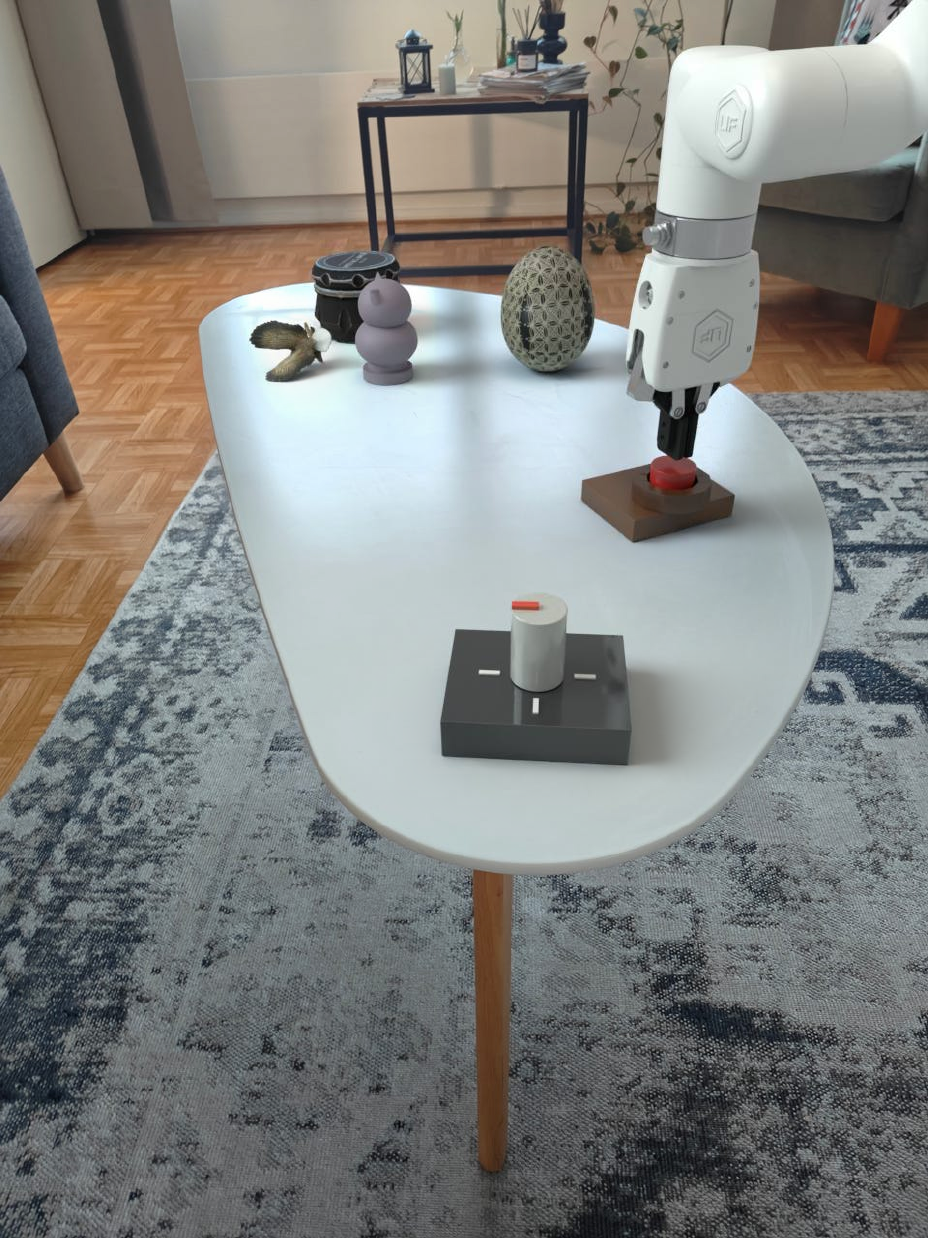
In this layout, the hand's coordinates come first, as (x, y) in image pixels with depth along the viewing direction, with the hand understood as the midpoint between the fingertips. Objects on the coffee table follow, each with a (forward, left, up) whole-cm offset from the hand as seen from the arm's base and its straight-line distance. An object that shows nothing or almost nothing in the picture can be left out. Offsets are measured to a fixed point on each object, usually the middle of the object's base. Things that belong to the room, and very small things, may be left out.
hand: (674, 452), depth 80 cm
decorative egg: (-9, -39, -7) cm, 41 cm away
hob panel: (+24, +19, -6) cm, 31 cm away
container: (+7, -65, -7) cm, 66 cm away
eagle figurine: (+20, -54, -7) cm, 58 cm away
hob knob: (+24, +19, -3) cm, 31 cm away
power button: (0, 0, -3) cm, 3 cm away
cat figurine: (+10, -46, -7) cm, 48 cm away
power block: (0, -2, -6) cm, 7 cm away
